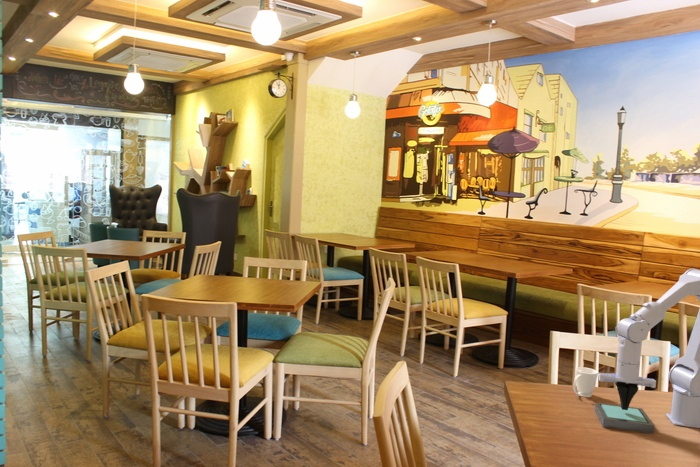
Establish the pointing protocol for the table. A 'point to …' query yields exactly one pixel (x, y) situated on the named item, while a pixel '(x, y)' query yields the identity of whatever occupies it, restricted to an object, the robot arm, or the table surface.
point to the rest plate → (623, 413)
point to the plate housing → (624, 421)
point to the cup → (585, 381)
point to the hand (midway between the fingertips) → (624, 408)
